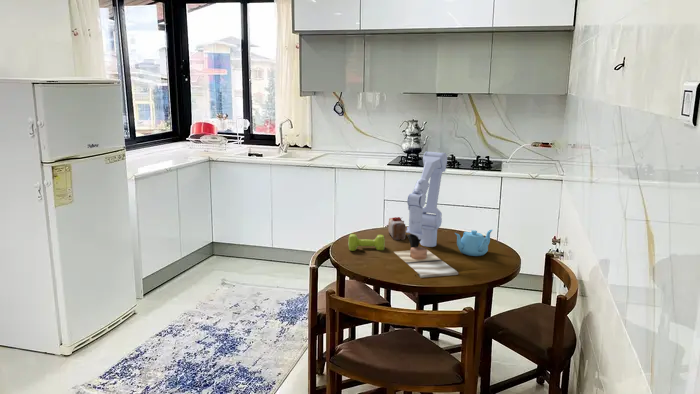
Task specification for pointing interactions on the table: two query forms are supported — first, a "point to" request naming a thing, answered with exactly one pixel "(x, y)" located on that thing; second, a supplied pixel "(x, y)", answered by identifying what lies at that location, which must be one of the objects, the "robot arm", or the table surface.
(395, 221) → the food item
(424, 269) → the board
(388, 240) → the table surface
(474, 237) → the teapot
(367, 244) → the dumbbell
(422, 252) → the puck
